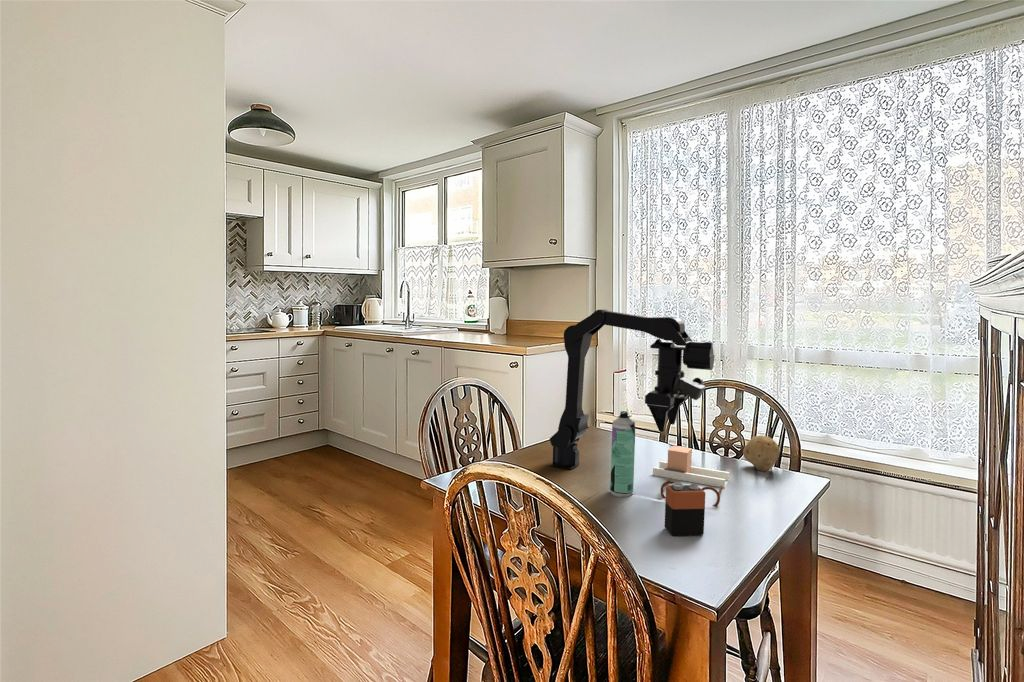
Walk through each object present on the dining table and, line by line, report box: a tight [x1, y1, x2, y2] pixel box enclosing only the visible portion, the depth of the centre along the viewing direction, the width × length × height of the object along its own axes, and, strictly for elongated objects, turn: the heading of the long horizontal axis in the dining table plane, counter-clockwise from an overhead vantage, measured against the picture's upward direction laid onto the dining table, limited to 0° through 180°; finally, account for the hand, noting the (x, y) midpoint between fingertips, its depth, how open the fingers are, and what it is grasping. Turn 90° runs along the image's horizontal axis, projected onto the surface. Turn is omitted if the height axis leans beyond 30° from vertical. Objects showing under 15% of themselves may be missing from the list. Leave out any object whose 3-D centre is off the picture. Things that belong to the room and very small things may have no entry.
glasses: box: [660, 478, 723, 507], centre depth 132 cm, size 13×13×5 cm
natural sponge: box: [742, 434, 780, 472], centre depth 151 cm, size 9×9×10 cm
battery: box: [664, 482, 706, 537], centre depth 111 cm, size 4×7×10 cm, turn 95°
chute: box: [652, 460, 731, 489], centre depth 144 cm, size 18×7×3 cm, turn 60°
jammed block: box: [667, 445, 693, 473], centre depth 145 cm, size 5×5×7 cm
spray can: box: [609, 410, 636, 498], centre depth 132 cm, size 6×6×20 cm
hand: (666, 427), depth 139 cm, fingers open, 9 cm apart
